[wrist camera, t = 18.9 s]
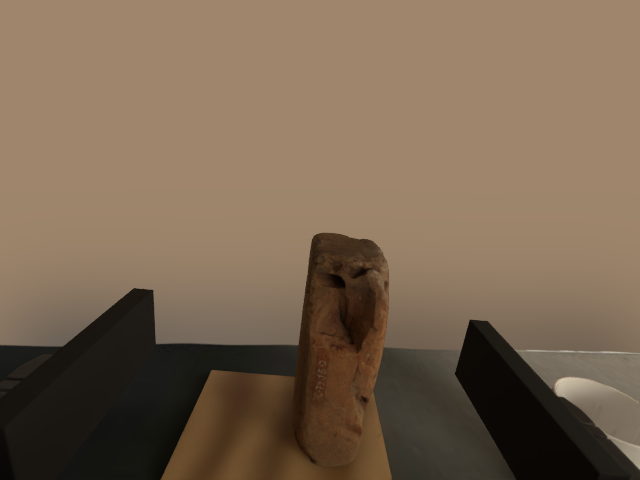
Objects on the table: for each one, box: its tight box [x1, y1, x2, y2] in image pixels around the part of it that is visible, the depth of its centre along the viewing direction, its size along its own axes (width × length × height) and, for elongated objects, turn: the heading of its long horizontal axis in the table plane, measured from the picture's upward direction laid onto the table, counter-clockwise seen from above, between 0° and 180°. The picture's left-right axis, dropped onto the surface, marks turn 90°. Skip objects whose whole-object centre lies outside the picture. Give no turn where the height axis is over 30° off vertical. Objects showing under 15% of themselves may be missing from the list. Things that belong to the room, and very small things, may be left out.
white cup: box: [552, 377, 640, 469], centre depth 29 cm, size 8×8×10 cm
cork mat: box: [161, 370, 392, 480], centre depth 34 cm, size 20×14×1 cm
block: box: [292, 233, 389, 467], centre depth 32 cm, size 11×8×20 cm
